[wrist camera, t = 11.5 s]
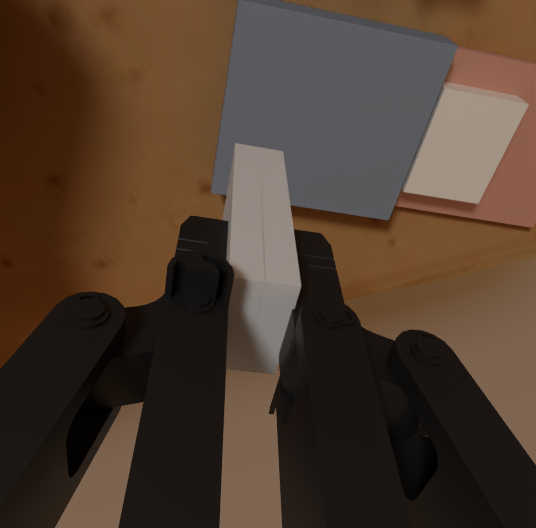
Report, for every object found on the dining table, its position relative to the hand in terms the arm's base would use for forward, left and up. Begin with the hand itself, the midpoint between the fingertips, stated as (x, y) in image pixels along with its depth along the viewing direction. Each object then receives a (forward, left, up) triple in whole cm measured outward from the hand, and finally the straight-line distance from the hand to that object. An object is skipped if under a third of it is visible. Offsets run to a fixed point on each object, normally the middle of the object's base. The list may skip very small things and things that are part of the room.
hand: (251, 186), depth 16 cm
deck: (+7, -6, -26) cm, 28 cm away
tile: (+19, -6, -24) cm, 31 cm away
